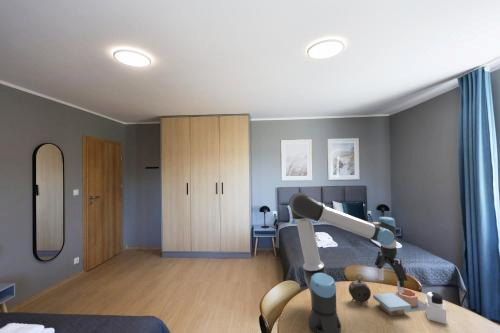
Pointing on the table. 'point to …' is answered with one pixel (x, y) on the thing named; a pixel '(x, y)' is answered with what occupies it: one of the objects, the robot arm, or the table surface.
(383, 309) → the cork riser
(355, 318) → the table surface
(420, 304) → the placemat
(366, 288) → the alarm clock
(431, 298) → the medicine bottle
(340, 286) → the table surface
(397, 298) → the cover board
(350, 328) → the table surface
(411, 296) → the bowl
